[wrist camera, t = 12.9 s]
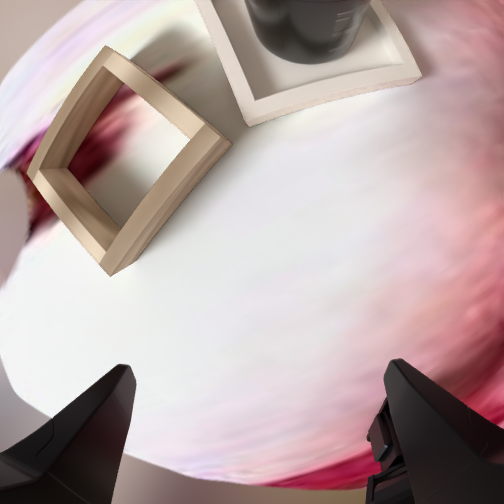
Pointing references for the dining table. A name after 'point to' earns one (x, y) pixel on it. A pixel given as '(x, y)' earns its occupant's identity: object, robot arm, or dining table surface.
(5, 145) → the dining table surface
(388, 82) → the dock
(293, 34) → the supplement bottle
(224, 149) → the frame
